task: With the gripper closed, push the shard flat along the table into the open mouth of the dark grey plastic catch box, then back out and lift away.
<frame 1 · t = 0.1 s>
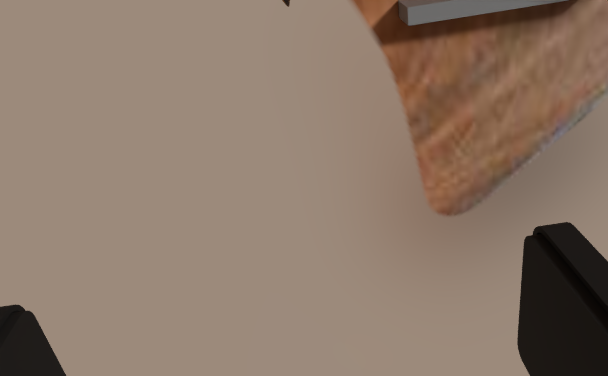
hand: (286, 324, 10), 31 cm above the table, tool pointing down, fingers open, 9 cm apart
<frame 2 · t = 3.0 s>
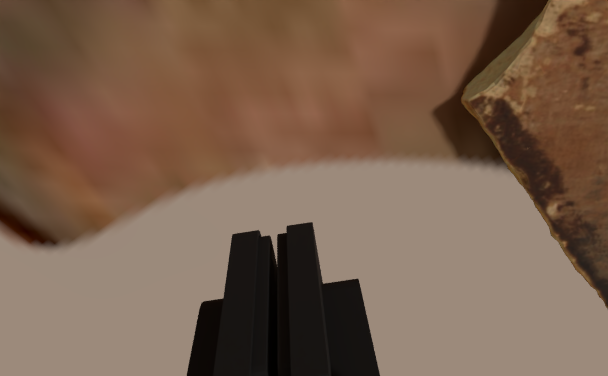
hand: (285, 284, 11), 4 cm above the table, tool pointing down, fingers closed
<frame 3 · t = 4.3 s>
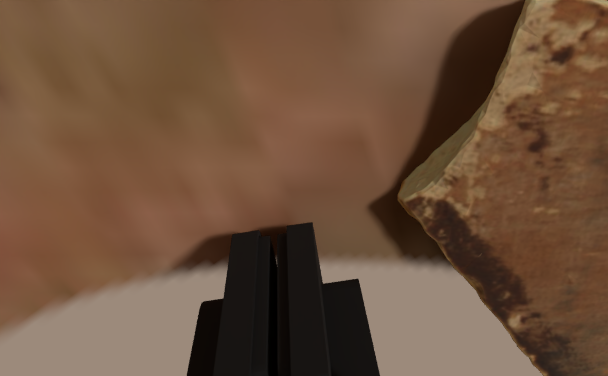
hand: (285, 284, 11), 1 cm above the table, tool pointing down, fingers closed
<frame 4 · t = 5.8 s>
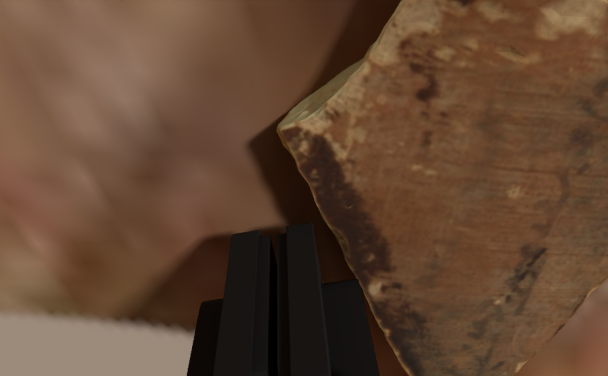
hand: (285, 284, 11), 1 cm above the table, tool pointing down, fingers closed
shard: (512, 187, 12), on the table
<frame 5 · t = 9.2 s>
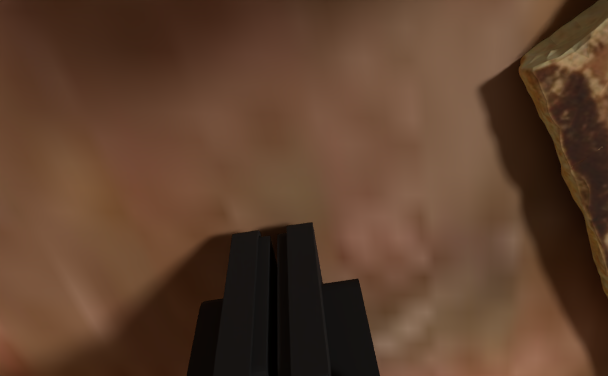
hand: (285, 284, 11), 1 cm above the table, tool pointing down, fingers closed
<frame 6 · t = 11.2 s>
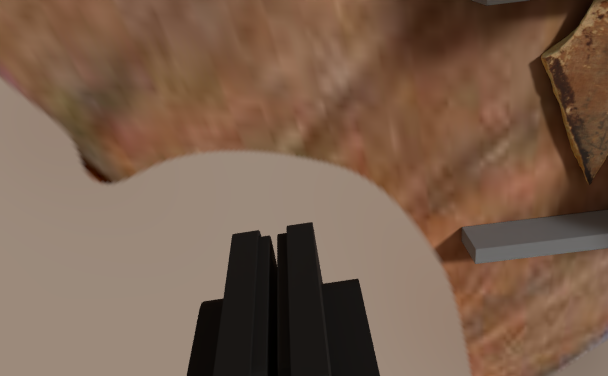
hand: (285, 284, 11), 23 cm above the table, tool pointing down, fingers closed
catch box: (546, 115, 35), on the table
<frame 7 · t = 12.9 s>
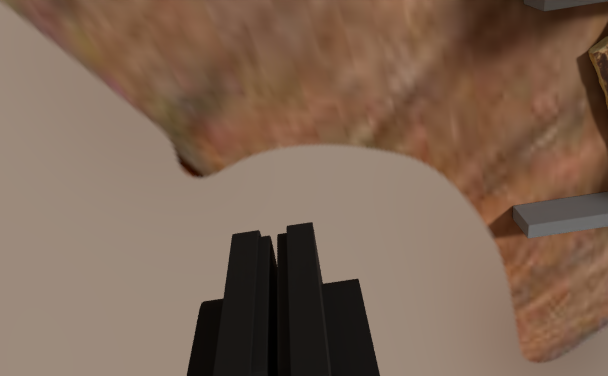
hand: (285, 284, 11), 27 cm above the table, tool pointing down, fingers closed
catch box: (591, 103, 38), on the table
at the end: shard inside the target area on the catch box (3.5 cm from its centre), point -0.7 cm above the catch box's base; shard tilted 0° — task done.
